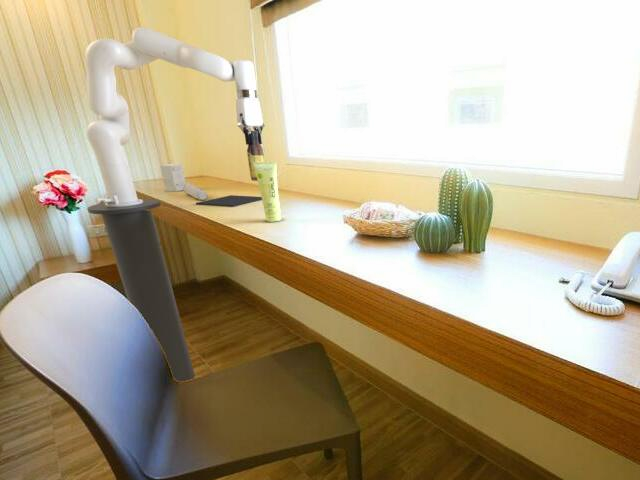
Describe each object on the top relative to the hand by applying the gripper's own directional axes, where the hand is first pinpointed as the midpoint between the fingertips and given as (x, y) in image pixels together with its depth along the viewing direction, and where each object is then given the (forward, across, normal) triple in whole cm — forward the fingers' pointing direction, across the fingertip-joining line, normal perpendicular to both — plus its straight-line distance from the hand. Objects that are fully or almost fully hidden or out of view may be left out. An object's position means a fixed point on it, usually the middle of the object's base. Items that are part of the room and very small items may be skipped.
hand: (254, 143), depth 162 cm
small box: (+25, -14, -67) cm, 73 cm away
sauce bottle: (+15, 0, 0) cm, 15 cm away
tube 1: (+24, 0, -38) cm, 45 cm away
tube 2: (+24, +30, +30) cm, 48 cm away
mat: (+24, +4, -13) cm, 28 cm away
